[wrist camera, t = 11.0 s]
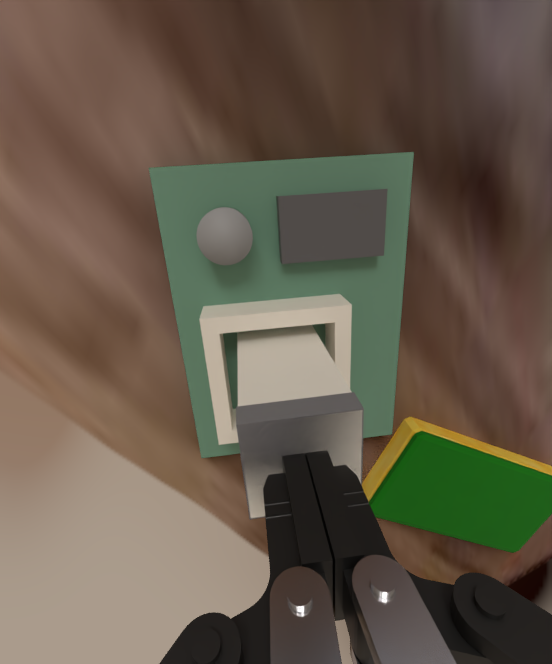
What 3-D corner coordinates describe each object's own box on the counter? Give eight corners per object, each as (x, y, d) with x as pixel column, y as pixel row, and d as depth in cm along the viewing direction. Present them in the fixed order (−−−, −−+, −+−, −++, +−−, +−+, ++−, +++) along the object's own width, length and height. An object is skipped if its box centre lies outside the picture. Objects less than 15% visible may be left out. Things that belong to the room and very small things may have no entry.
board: (154, 169, 16) (136, 163, 13) (402, 154, 17) (437, 146, 14) (203, 444, 22) (198, 483, 19) (384, 422, 23) (406, 456, 20)
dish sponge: (403, 411, 23) (421, 433, 21) (549, 463, 27) (578, 487, 24) (354, 487, 25) (365, 515, 23) (495, 527, 29) (517, 555, 26)
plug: (236, 331, 18) (235, 424, 11) (312, 323, 18) (364, 408, 11) (244, 398, 20) (249, 519, 12) (314, 389, 20) (361, 503, 12)
